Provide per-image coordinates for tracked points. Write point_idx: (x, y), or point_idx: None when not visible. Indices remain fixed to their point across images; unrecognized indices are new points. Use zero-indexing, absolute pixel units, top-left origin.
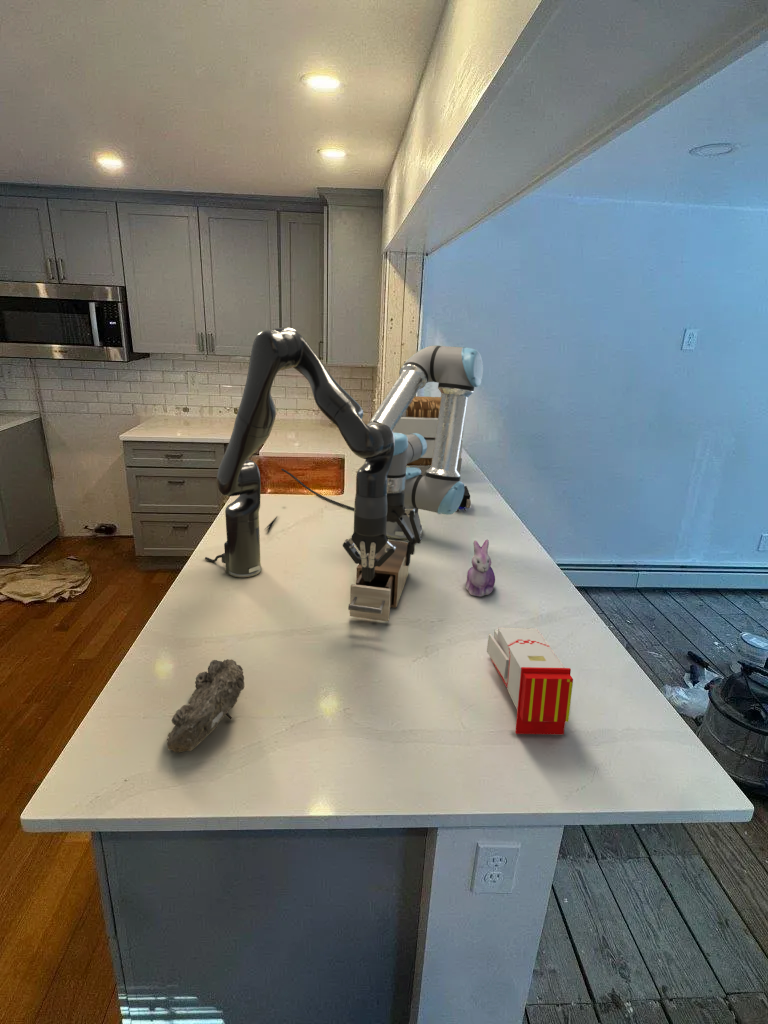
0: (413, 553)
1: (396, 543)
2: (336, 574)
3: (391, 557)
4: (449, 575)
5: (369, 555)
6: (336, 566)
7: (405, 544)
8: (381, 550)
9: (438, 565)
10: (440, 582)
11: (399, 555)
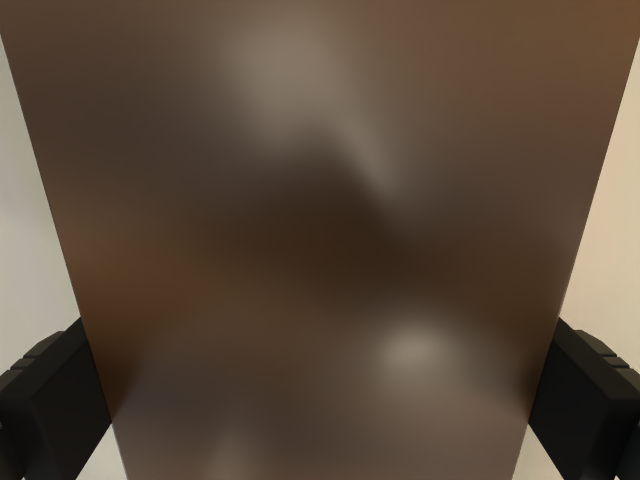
0: (44, 340)
1: (256, 469)
2: (616, 219)
3: (202, 75)
4: (21, 356)
5: (546, 50)
6: (614, 309)
7: (163, 469)
8: (386, 270)
9: (109, 433)
10: (32, 275)
11: (118, 182)
